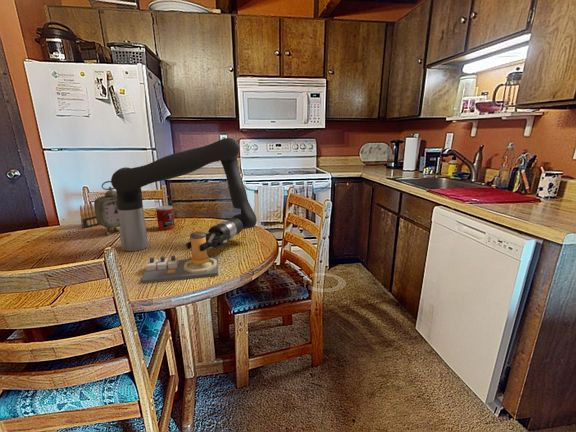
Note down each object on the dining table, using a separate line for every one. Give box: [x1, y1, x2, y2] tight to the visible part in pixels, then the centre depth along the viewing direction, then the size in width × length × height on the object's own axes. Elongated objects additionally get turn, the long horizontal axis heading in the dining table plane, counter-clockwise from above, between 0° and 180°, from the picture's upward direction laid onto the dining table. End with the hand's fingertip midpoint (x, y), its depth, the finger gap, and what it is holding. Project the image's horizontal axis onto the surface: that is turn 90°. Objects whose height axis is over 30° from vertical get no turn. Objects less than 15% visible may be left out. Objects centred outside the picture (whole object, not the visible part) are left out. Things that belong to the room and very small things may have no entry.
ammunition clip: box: [79, 203, 101, 229], centre depth 153 cm, size 11×2×12 cm, turn 152°
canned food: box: [155, 205, 176, 231], centre depth 149 cm, size 8×8×11 cm
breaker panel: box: [141, 255, 219, 284], centre depth 104 cm, size 24×14×4 cm, turn 102°
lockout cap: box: [189, 231, 209, 264], centre depth 103 cm, size 6×6×10 cm
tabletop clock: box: [93, 180, 120, 236], centre depth 142 cm, size 14×9×25 cm, turn 143°
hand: (194, 247), depth 101 cm, fingers closed on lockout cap, 5 cm apart
